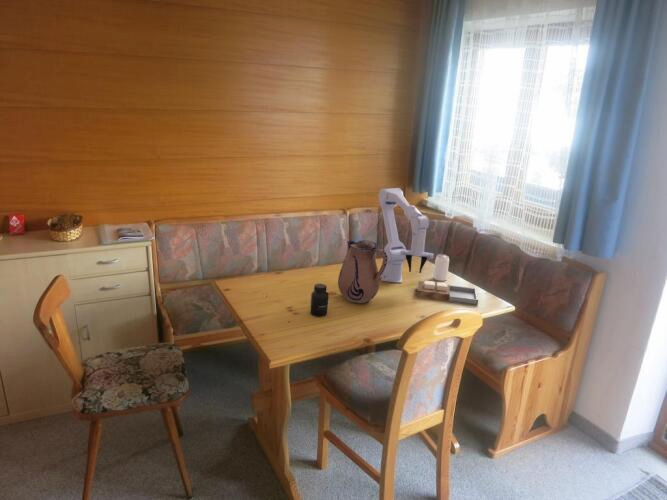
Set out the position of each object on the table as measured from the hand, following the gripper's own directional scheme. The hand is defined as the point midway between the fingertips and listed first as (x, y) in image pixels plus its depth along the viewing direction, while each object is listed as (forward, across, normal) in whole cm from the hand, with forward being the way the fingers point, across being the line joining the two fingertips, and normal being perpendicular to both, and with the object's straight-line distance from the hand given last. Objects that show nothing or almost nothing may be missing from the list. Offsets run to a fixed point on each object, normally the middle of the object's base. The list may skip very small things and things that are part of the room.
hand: (415, 271), depth 218 cm
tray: (+9, +22, 0) cm, 24 cm away
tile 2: (+6, +12, 0) cm, 14 cm away
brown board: (+9, +9, 0) cm, 13 cm away
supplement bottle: (+10, -35, -37) cm, 52 cm away
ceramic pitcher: (+10, -21, -18) cm, 29 cm away
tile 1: (+6, +7, 0) cm, 9 cm away
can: (+10, +12, +21) cm, 26 cm away
